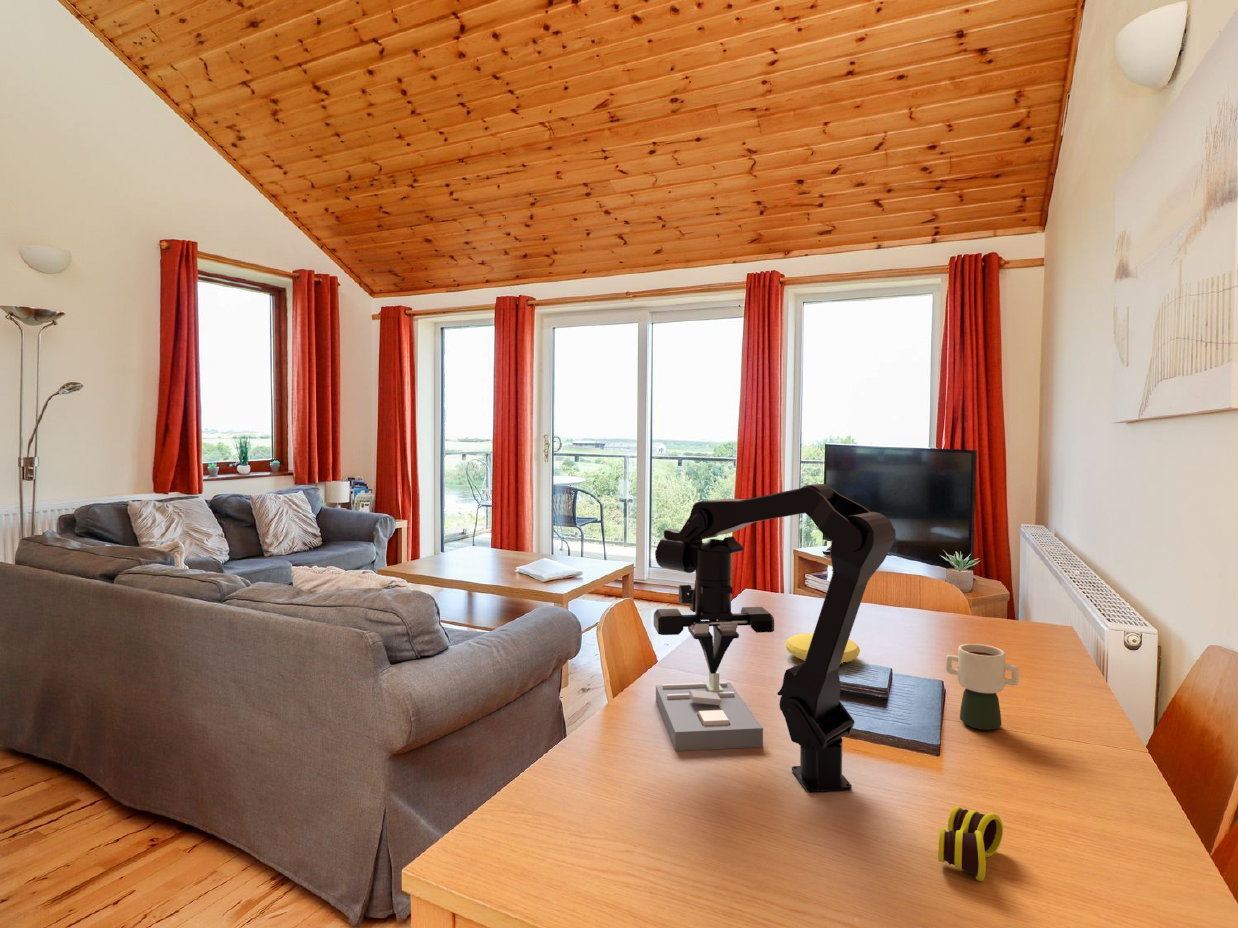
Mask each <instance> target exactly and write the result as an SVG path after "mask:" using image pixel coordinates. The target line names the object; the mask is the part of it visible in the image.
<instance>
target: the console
mask: <svg viewBox="0 0 1238 928" xmlns="http://www.w3.org/2000/svg"><path fill="white" fill-rule="evenodd" d="M705 683H706V682H693V683H690V682H689V683H688V682H687V683H666V684H665V683H663V684H657V685H656V684H655V703H656V706H657V708H658V710H659V713H660V715H661V718H662V721H663V723H664V726H665V728H666V731H667V734H668V737H669V738H670V742H671V744H672V746H673V749H674V751H675V752H679V751H681V752H682V751H683V752H684V751H701V750H704V751H705V750H725V749H743V748H744V749H746V748H763V747H764V728H763V726H762V725H761V723H760V722H759V720H758V719H757V718H756V716H755V715H754V714H753V712H752V711H751V709H750V707H748V705H747V704H746V702H745V701H744V700H743V698H742V697H741V695H740V694H739V693H738V692H737V690H736V688H735V687H734V686H733V684H732V683H731V682H727V681H719V684H720V686H721V687H722V689H723V692H716V693H717V694H718V696H719V697H720V699H721V703H720V705H711V704H701V703H693V702H692V700H691V699H690V697H689V691H690V690H696V691H706V692H709V691H708V690H707V688H706V687H705ZM711 710H723V712H724V713H725V715H726V717H727V718H728V720H729V725H717V726H702V724H701V722H700V720H699V711H711Z"/></svg>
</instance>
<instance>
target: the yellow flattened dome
mask: <svg viewBox="0 0 1238 928" xmlns="http://www.w3.org/2000/svg"><path fill="white" fill-rule="evenodd" d="M813 634H814V632H812V633H811V632H810V633H799V634H795V635H792V636H790V637H789V638H788V639H787V640H786V641H785V648H786V651H787V652H788V654H790V655H792V656H794V657H796V658H797V659H799V660H802V661H803V662H804V661H805V659H806V656H807V653H808V649H809V646H810V643H811V640H812V637H813ZM860 652H861V648H860V647H859V645H858V644H857V643H856V642H855V641H854V640H852V639H850V638H849V639H848V642H847V645H846V648H845V651H844V654H843V657H842V660H841V663H842V664H844V663H843V662H846V663H848V662H851V661H854V660H856V659H858V656H859V655H860ZM841 663H840V665H842V664H841Z"/></svg>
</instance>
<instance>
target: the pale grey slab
mask: <svg viewBox="0 0 1238 928" xmlns="http://www.w3.org/2000/svg"><path fill="white" fill-rule="evenodd" d="M689 697H690V699H691V700H692V702H693V703H701V704H711V705H720V703H721V699H720V697H719V696H718V694H717V693H716V692H706V691H696V690H690V691H689Z"/></svg>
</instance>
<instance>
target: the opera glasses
mask: <svg viewBox="0 0 1238 928" xmlns="http://www.w3.org/2000/svg"><path fill="white" fill-rule="evenodd" d="M1003 834H1004V825H1003V822H1002V819H1001V817H1000V816H999V815H998V814H996V813H995V812H989V813H986V814H984V813H980V812H979V811H977V810H972V809H970V810H968V809H967V808H966V809H964V808H962V807H961V806H958V805H956V806H954V807H953V808H952V809H951V811H950V814H949V818H948V822H947V831H946V828H944V827H943V828H942V827H940V828H939V836H938V838H939V839H938V851H937V852H938V862H940V863H945V862H946V863H948V865H952V866H954V868H955V869H957V870H959V871H965V872H966V873H967V872H968V873H969V874H971V875H973V876H975V879H976V880H977V881H979V882H983V881H984V879H985V877H986V871H987V870H986V869H987V867H986V866H987V865H986V864H987V862H986V858H989V857H992V856H993V855H995V853H996V852H997V851H998V849H999V848H1000V845H1001V842H1002V839H1003Z"/></svg>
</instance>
